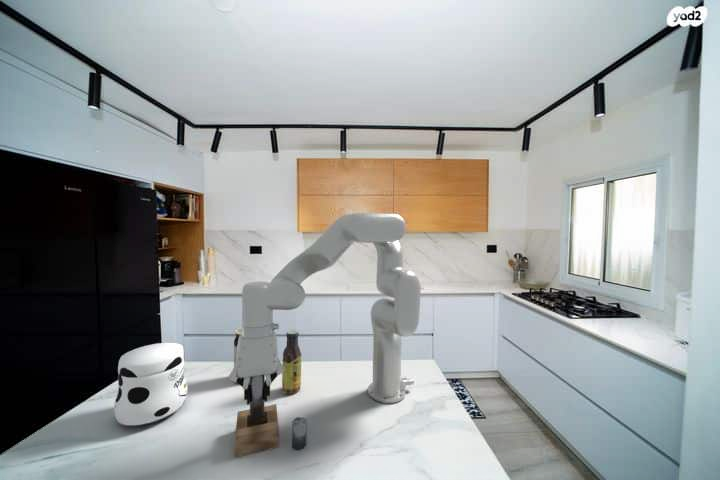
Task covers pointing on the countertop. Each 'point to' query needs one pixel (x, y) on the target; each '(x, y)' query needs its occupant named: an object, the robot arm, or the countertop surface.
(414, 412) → the countertop surface
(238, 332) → the travel mug
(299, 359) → the sauce bottle
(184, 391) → the milk container
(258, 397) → the long pin
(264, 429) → the hole block
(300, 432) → the short pin
